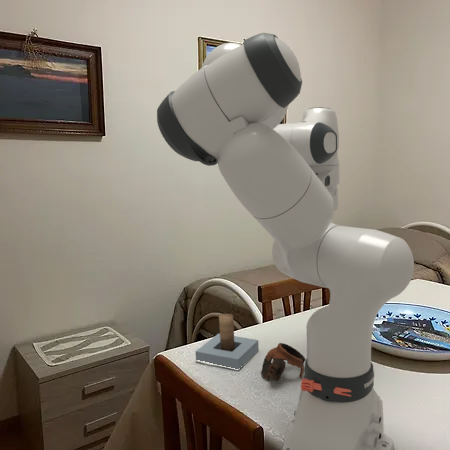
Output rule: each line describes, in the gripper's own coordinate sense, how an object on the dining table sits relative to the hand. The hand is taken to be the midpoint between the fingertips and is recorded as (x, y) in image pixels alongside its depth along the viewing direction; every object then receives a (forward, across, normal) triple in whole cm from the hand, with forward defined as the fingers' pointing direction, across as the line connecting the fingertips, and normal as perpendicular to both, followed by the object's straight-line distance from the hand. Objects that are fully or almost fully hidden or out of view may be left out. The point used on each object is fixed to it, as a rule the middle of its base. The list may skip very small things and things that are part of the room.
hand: (321, 233), depth 112 cm
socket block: (+31, +11, -22) cm, 40 cm away
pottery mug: (+31, +16, -6) cm, 36 cm away
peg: (+31, +11, -22) cm, 40 cm away
